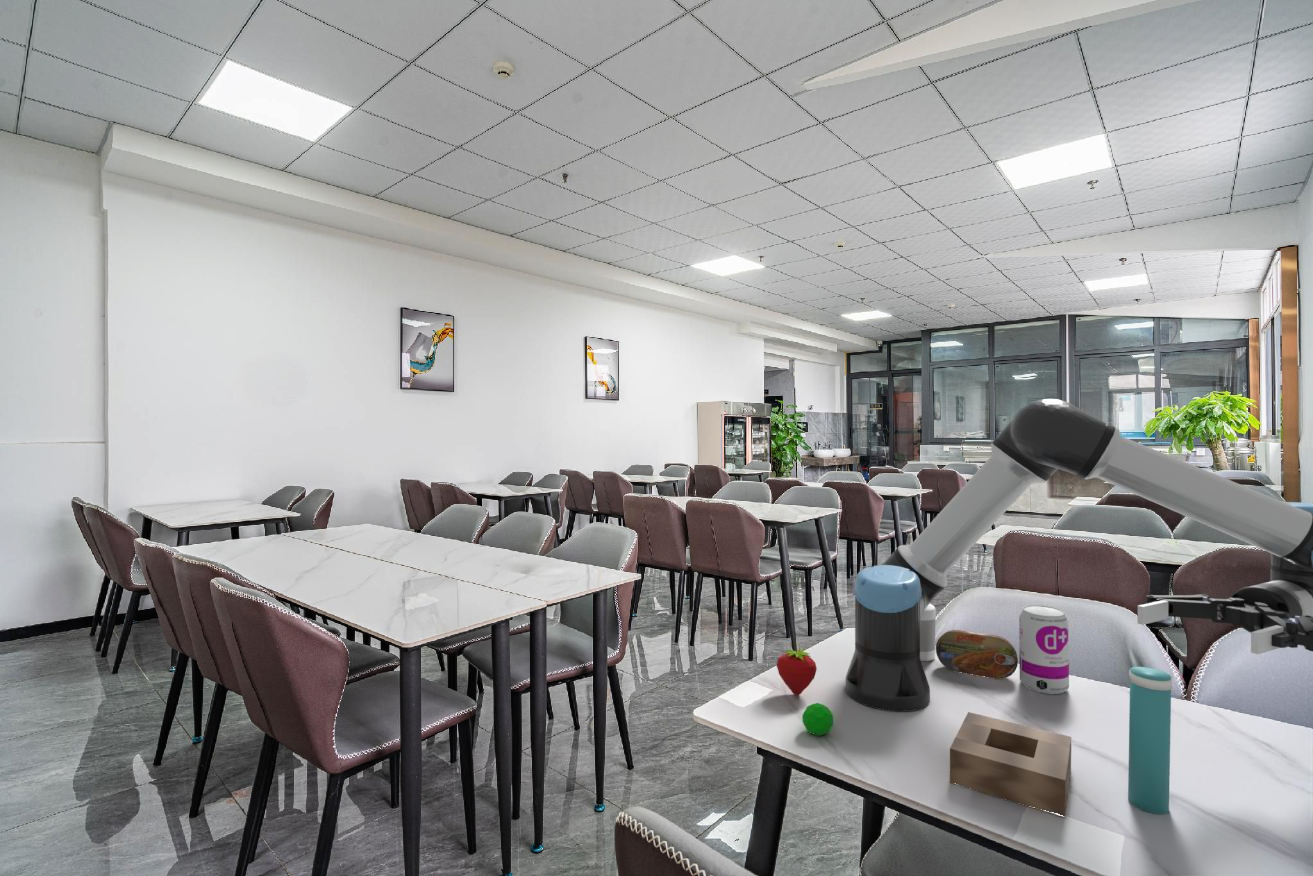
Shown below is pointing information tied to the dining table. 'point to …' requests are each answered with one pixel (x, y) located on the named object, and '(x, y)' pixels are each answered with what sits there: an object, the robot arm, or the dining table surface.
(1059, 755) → the socket block
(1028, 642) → the supplement can
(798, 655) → the strawberry
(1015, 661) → the tin
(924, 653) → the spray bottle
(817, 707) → the polyhedron
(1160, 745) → the peg
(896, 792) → the dining table surface
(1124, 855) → the dining table surface
